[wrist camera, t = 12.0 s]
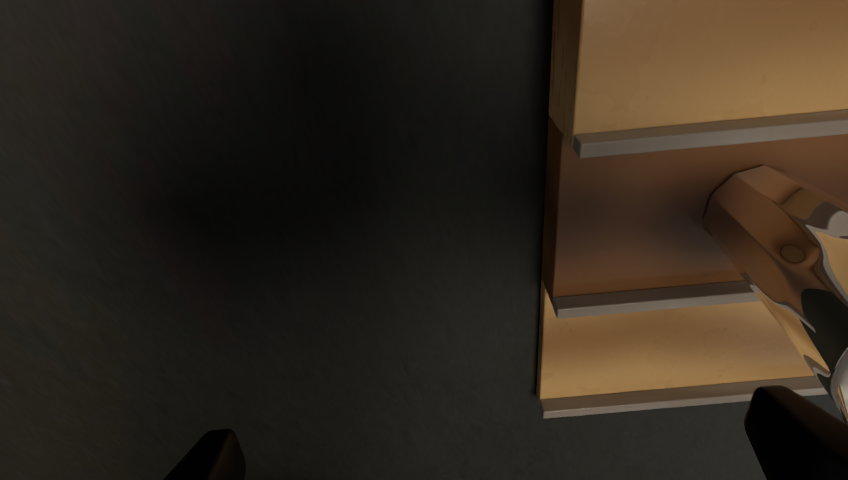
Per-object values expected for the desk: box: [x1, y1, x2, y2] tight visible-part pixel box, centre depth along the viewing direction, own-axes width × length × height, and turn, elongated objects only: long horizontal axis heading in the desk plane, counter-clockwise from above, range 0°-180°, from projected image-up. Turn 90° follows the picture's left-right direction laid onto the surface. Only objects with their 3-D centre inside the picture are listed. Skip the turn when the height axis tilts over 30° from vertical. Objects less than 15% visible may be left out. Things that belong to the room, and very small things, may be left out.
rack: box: [536, 0, 848, 418], centre depth 20 cm, size 22×14×4 cm, turn 5°
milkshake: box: [704, 165, 848, 424], centre depth 15 cm, size 5×5×10 cm
